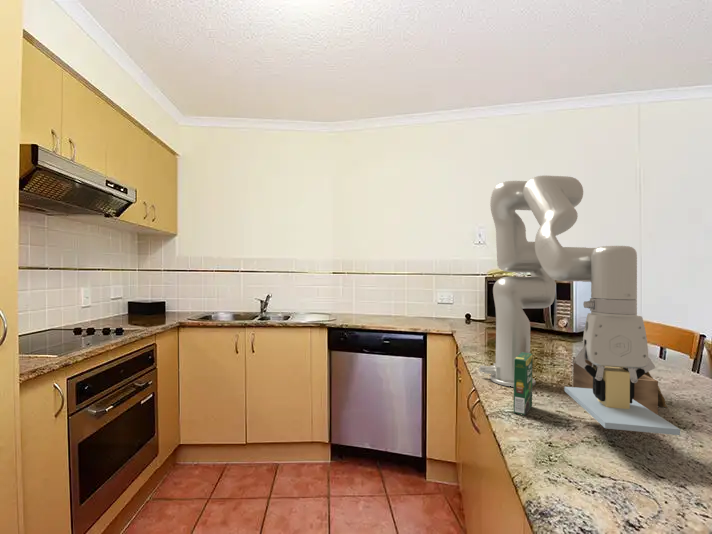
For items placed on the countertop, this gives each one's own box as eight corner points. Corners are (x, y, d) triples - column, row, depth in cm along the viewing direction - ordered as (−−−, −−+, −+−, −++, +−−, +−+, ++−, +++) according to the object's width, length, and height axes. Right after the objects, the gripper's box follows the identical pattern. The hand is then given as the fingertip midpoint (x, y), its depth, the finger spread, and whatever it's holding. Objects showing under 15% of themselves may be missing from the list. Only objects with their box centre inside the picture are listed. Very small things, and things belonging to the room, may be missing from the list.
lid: (605, 428, 64) (605, 382, 64) (564, 391, 85) (564, 356, 85) (680, 435, 62) (680, 387, 62) (619, 395, 83) (619, 359, 83)
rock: (618, 381, 106) (614, 383, 98) (641, 359, 103) (639, 361, 96) (656, 412, 100) (655, 418, 92) (682, 391, 97) (683, 395, 89)
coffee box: (525, 417, 84) (526, 359, 84) (512, 414, 86) (513, 357, 86) (533, 406, 91) (533, 353, 91) (520, 404, 92) (521, 351, 93)
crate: (604, 416, 85) (605, 377, 85) (572, 388, 105) (573, 357, 105) (657, 421, 83) (658, 381, 83) (614, 392, 103) (615, 359, 103)
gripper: (573, 308, 72) (573, 402, 72) (673, 311, 68) (673, 410, 68) (561, 305, 79) (560, 390, 79) (650, 307, 76) (650, 397, 75)
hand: (613, 399), depth 73 cm, fingers closed on lid, 4 cm apart
